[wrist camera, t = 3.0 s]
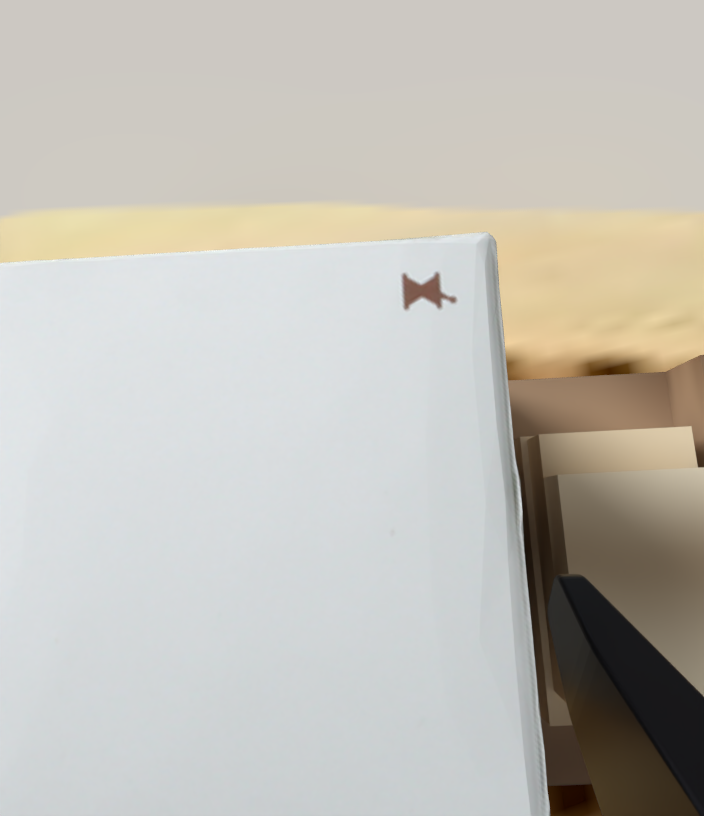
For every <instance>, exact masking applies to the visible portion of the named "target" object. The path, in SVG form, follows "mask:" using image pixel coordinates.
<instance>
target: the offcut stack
mask: <svg viewBox="0 0 704 816" xmlns="http://www.w3.org/2000/svg"><path fill="white" fill-rule="evenodd" d="M513 441H514V450H515V459H516V464H517V468H518V473H519V478H520V485H521V499H522V511H523V534H524V553H525V563H526V574H527V584H528V595H529V605H530V614H531V624H532V635H533V646H534V656H535V667H536V677H537V687H538V697H539V707H540V715H541V716H542V717H543V718H544V720H545V721H546V722H547V723H548V724H549V725H550V726H567V725H572V722H571V719H570V715H569V711H568V707H567V703H566V699H565V694H564V690H563V685H562V680H561V676H560V671H559V667H558V662H557V658H556V653H555V648H554V644H553V639H552V635H551V630H550V625H549V621H548V612H547V609H548V602H549V598H550V593H551V589H552V585H553V580H554V578H555V577H556V576H557V575H559V574H581V575H583V576H584V577H586V578H587V579H588V580H589V581H590V582H591V583H592V584H593V585H594V586H595V587H596V588H597V589H598V590H599V591H600V592H601V593H602V594H603V595H604V596H605V597H606V598H607V599H608V600H609V601H610V602H611V603H612V604H613V605H614V606H615V607H616V608H617V609H618V610H619V611H620V612H621V613H622V614H623V615H624V616H625V617H626V618H627V619H628V621H629V622H630V623H631V624H632V625H633V626H634V627H635V628H636V629H637V630H638V631H639V632H640V633H641V634H642V635H643V636H644V637H645V638H646V639H647V640H648V641H649V642H650V643H651V644H652V645H653V646H654V647H655V648H656V649H657V650H658V651H659V652H660V653H661V654H662V655H663V656H664V657H665V658H666V659H667V660H668V661H669V662H670V663H671V664H672V665H673V666H674V667H675V668H676V669H677V670H678V671H679V672H680V673H681V674H682V675H683V676H684V677H685V678H686V679H687V680H688V681H689V682H690V683H691V684H692V685H693V686H694V687H695V688H696V689H697V690H698V691H699V692H700V693H701V694H702V695H703V696H704V467H700V468H698V465H697V458H696V452H695V446H694V440H693V433H692V427H691V426H687V427H668V428H649V429H631V430H612V431H593V432H574V433H556V434H538V435H536V436H527V437H519V438H517V439H515V440H513Z"/></svg>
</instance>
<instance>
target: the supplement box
mask: <svg viewBox="0 0 704 816" xmlns="http://www.w3.org/2000/svg"><path fill="white" fill-rule="evenodd" d="M0 816H550V805H549V798H548V790H547V777H546V764H545V751H544V743H543V734H542V725H541V716H540V707H539V697H538V687H537V677H536V667H535V656H534V646H533V635H532V624H531V614H530V605H529V595H528V584H527V574H526V563H525V553H524V534H523V511H522V499H521V485H520V478H519V473H518V468H517V464H516V459H515V450H514V441H513V429H512V418H511V408H510V398H509V388H508V378H507V368H506V355H505V343H504V331H503V321H502V311H501V301H500V292H499V277H498V261H497V247H496V241H495V239H494V238H493V236H491V235H490V234H489V233H488V232H481V233H470V234H458V235H446V236H434V237H421V238H409V239H396V240H383V241H371V242H353V243H336V244H319V245H303V246H286V247H264V248H244V249H230V250H214V251H195V252H176V253H159V254H143V255H127V256H111V257H94V258H78V259H58V260H35V261H24V262H8V263H0Z"/></svg>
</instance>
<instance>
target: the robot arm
mask: <svg viewBox="0 0 704 816" xmlns="http://www.w3.org/2000/svg"><path fill="white" fill-rule="evenodd" d="M547 612H548V621H549V625H550V630H551V635H552V639H553V644H554V648H555V653H556V658H557V662H558V667H559V671H560V676H561V680H562V685H563V690H564V694H565V699H566V703H567V707H568V711H569V715H570V719H571V722H572V725H573V729H574V732H575V735H576V738H577V741H578V744H579V747H580V750H581V753H582V756H583V759H584V762H585V765H586V768H587V771H588V774H589V777H590V780H591V783H592V786H593V789H594V792H595V795H596V798H597V801H598V804H599V807H600V810H601V813H602V816H704V696H703V695H702V694H701V693H700V692H699V691H698V690H697V689H696V688H695V687H694V686H693V685H692V684H691V683H690V682H689V681H688V680H687V679H686V678H685V677H684V676H683V675H682V674H681V673H680V672H679V671H678V670H677V669H676V668H675V667H674V666H673V665H672V664H671V663H670V662H669V661H668V660H667V659H666V658H665V657H664V656H663V655H662V654H661V653H660V652H659V651H658V650H657V649H656V648H655V647H654V646H653V645H652V644H651V643H650V642H649V641H648V640H647V639H646V638H645V637H644V636H643V635H642V634H641V633H640V632H639V631H638V630H637V629H636V628H635V627H634V626H633V625H632V624H631V623H630V622H629V621H628V619H627V618H626V617H625V616H624V615H623V614H622V613H621V612H620V611H619V610H618V609H617V608H616V607H615V606H614V605H613V604H612V603H611V602H610V601H609V600H608V599H607V598H606V597H605V596H604V595H603V594H602V593H601V592H600V591H599V590H598V589H597V588H596V587H595V586H594V585H593V584H592V583H591V582H590V581H589V580H588V579H587V578H586V577H584V576H583V575H581V574H559V575H557V576H556V577H555V578H554V580H553V585H552V589H551V593H550V598H549V602H548V609H547Z"/></svg>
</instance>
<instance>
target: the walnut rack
mask: <svg viewBox="0 0 704 816" xmlns="http://www.w3.org/2000/svg"><path fill="white" fill-rule="evenodd" d="M508 388H509V398H510V408H511V418H512V429H513V440H515V439H517V438H519V437H527V436H536V435H538V434H556V433H574V432H593V431H612V430H631V429H649V428H668V427H687V426H691V427H692V433H693V440H694V446H695V452H696V458H697V465H698V468H700V467H704V355H700V356H698V357H696V358H694V359H691V360H689V361H687V362H685V363H683V364H681V365H679V366H677V367H675V368H673V369H671V370H668V371H666V372H656V373H638V374H620V375H602V376H584V377H566V378H548V379H530V380H512V381H508ZM540 716H541V715H540ZM541 725H542V734H543V743H544V751H545V764H546V777H547V786H559V785H585V784H592V783H591V780H590V777H589V774H588V771H587V768H586V765H585V762H584V759H583V756H582V753H581V750H580V747H579V744H578V741H577V738H576V735H575V732H574V729H573V725H567V726H550V725H549V724H548V723H547V722H546V721H545V720H544V718H543V717H542V716H541Z"/></svg>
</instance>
